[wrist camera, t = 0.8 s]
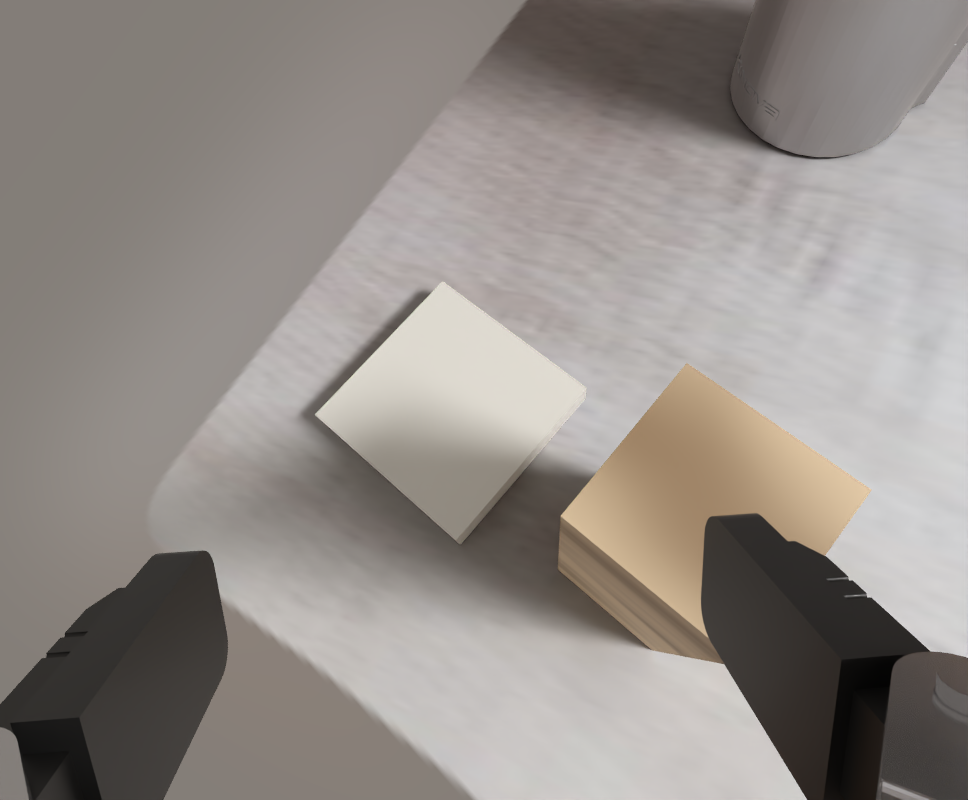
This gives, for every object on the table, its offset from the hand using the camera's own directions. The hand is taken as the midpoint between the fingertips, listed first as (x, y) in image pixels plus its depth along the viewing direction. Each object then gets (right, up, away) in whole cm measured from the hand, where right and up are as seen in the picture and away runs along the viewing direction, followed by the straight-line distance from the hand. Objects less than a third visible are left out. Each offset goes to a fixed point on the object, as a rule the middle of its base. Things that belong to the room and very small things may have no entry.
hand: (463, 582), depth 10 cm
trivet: (-1, +2, +21) cm, 21 cm away
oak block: (+7, -4, +18) cm, 19 cm away
